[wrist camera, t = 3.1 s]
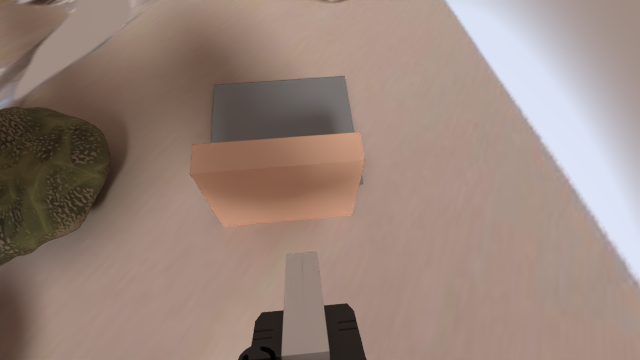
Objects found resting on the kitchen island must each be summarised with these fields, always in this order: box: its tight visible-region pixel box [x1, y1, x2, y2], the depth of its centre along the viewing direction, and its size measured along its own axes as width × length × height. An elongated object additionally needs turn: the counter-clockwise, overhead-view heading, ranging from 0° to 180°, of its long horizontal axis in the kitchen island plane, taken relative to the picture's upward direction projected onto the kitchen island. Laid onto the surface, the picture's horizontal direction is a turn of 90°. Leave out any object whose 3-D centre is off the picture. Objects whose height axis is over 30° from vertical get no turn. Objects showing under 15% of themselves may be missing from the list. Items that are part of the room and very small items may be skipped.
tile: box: [190, 132, 365, 226], centre depth 29 cm, size 2×12×10 cm, turn 96°
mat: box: [211, 76, 363, 184], centre depth 37 cm, size 14×15×1 cm
